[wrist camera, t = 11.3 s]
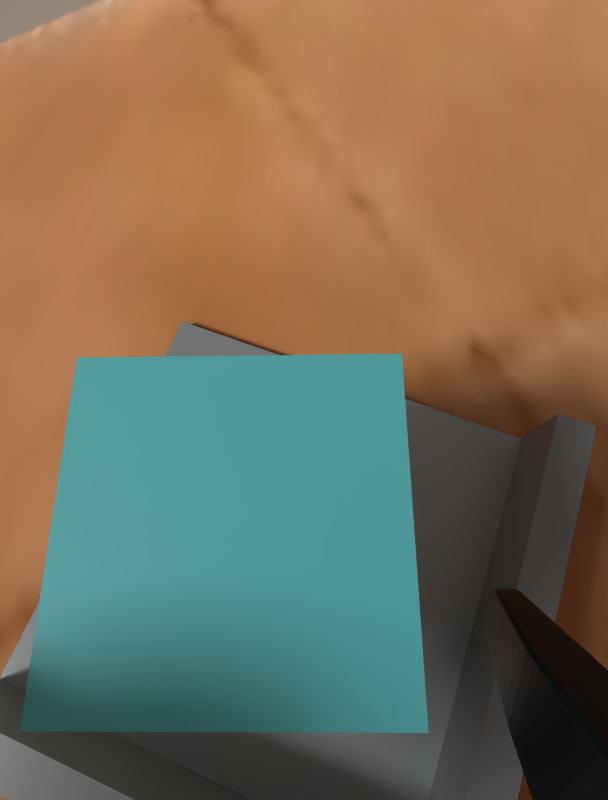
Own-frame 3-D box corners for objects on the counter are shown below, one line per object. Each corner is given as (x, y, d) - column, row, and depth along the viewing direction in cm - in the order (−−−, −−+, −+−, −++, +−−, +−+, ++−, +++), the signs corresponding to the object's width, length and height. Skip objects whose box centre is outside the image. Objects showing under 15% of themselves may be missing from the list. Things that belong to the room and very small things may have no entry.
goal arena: (433, 934, 15) (467, 1036, 12) (-13, 714, 17) (-93, 747, 14) (549, 452, 19) (596, 426, 16) (184, 326, 21) (161, 280, 18)
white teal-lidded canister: (366, 646, 17) (428, 733, 7) (184, 646, 17) (19, 730, 8) (359, 462, 19) (401, 347, 9) (196, 463, 19) (78, 351, 10)
